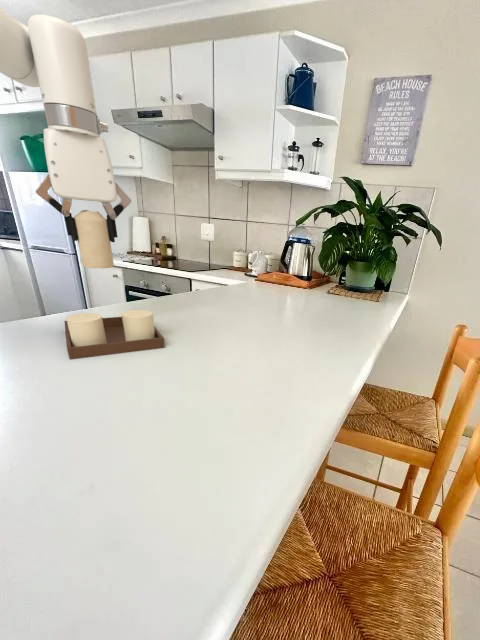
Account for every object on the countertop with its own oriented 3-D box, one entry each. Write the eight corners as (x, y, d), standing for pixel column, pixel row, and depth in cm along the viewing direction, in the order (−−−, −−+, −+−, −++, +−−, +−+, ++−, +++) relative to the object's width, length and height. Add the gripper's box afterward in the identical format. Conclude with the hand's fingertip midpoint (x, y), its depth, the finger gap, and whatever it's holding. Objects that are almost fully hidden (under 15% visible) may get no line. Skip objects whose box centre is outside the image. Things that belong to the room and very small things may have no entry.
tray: (70, 363, 57) (67, 348, 56) (67, 333, 69) (64, 320, 68) (165, 351, 65) (164, 338, 64) (147, 326, 78) (145, 314, 76)
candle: (78, 264, 64) (66, 208, 60) (106, 263, 68) (98, 210, 64) (89, 269, 61) (78, 209, 57) (118, 268, 65) (110, 212, 61)
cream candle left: (74, 355, 58) (66, 322, 55) (73, 344, 62) (65, 314, 60) (109, 350, 61) (103, 320, 58) (105, 341, 65) (100, 312, 62)
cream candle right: (128, 348, 63) (124, 318, 60) (124, 339, 67) (119, 310, 64) (158, 344, 66) (155, 316, 63) (152, 336, 70) (149, 308, 67)
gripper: (125, 138, 62) (137, 240, 70) (10, 116, 53) (40, 237, 61) (132, 132, 56) (145, 244, 64) (6, 107, 47) (39, 241, 56)
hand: (94, 239), depth 63 cm, fingers closed on candle, 5 cm apart
